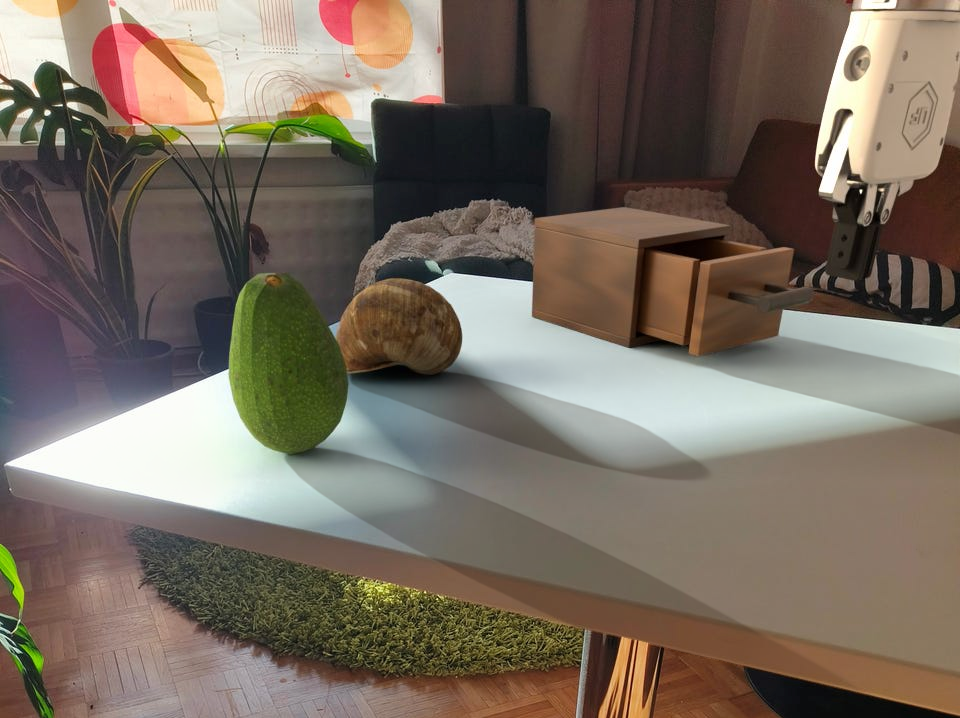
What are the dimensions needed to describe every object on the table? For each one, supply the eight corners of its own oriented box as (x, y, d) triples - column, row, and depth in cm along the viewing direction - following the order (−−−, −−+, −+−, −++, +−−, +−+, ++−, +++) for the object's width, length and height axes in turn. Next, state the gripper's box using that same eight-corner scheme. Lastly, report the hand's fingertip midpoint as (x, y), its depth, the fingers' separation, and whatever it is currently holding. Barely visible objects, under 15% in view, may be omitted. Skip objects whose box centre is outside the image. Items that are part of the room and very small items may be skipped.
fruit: (375, 440, 65) (363, 265, 58) (315, 480, 59) (294, 290, 52) (283, 423, 68) (262, 255, 61) (217, 460, 62) (185, 278, 55)
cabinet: (716, 327, 91) (731, 225, 86) (628, 347, 85) (639, 239, 80) (616, 300, 101) (624, 207, 96) (531, 316, 95) (534, 218, 90)
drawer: (820, 347, 82) (839, 257, 78) (739, 369, 77) (755, 273, 72) (673, 308, 94) (683, 228, 90) (594, 325, 89) (600, 240, 84)
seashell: (478, 366, 80) (479, 272, 76) (435, 398, 73) (432, 296, 69) (368, 352, 84) (361, 261, 79) (316, 381, 77) (306, 283, 72)
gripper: (900, -10, 55) (831, 298, 66) (1018, -1, 63) (940, 274, 73) (799, -7, 60) (749, 279, 71) (920, 1, 68) (859, 258, 78)
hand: (847, 276), depth 72 cm, fingers closed
